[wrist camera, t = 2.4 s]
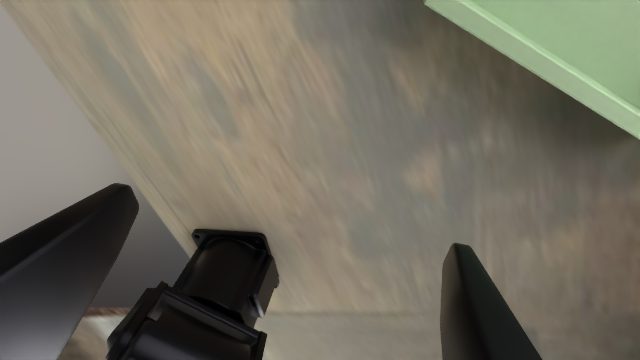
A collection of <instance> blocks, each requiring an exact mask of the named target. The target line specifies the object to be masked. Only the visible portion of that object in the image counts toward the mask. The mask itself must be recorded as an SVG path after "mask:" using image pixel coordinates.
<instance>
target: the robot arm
mask: <svg viewBox="0 0 640 360" xmlns="http://www.w3.org/2000/svg"><path fill="white" fill-rule="evenodd" d="M138 211H139V204H138V201H137V199H136V197H135V195H134V192H133V190H132V188H131V187H130V186H129V185H125V184H119V183H114V184H111V185H109V186H108V187H106V188H104V189H102V190H100V191H98V192H96V193H94V194H92V195H90V196H88V197H87V198H85V199H83V200H81V201H79V202H77V203H75V204H74V205H71V206H69V207H68V208H66V209H64V210H62V211H60V212H58V213H56V214H54V215H52V216H50V217H49V218H47V219H45V220H43V221H41V222H39V223H37V224H35V225H33V226H31V227H29V228H28V229H26V230H24V231H22V232H20V233H18V234H16V235H14V236H12V237H10V238H9V239H7V240H5V241H3V242H1V243H0V360H57V359H58V357H59V356H60V354H61V352H62V351H63V349H64V347H65V346H66V344H67V342H68V340H69V339H70V337H71V335H72V334H73V332H74V330H75V329H76V327H77V325H78V324H79V322H80V320H81V319H82V317H83V315H84V313H85V312H86V310H87V308H88V307H89V305H90V303H91V302H92V300H93V298H94V297H95V294H96V293H97V291H98V289H99V288H100V286H101V285H102V283H103V281H104V280H105V278H106V276H107V275H108V273H109V271H110V269H111V268H112V266H113V264H114V263H115V261H116V259H117V257H118V255H119V253H120V251H121V249H122V246H123V244H124V242H125V240H126V238H127V236H128V234H129V231H130V229H131V227H132V225H133V223H134V220H135V218H136V216H137V214H138ZM192 237H193V240H194V242H195V244H196V246H197V250H196V251H195V253H194V254H193V256H192V257H191V259H190V261H189V262H188V264H187V265H186V267H185V268H184V270H183V272H182V273H181V275H180V276H179V278H178V280H177V281H176V282H175V284H174V286H173V287H170V286H168V284H167V283H165V282H163V281H161V282H160V284H159V285H158V286H157V288H147V289H146V290H145V292H144V293H143V294H142V296H141V297H140V299H139V300H138V301H137V303H136V304H135V306H134V307H133V308H132V309H131V311H130V312H129V313H128V314H127V315H126V317H125V318H124V319H123V320H122V321H121V322H120V324H119V325H118V326H117V327H116V328H115V329H114V331H113V332H112V333H111V334H110V336H109V337H108V339H107V345H108V351H109V352H108V354H107V356H106V359H107V360H262V357H263V352H264V347H265V343H266V338H267V334H266V333H264V332H262V331H260V332H259V331H257V330H255V329H253V328H254V325H255V323H256V320H257V318H258V317H260V318H262V317H263V316H264V315H265V312H266V310H267V307H268V304H269V301H270V299H271V296H272V293H273V291H274V288H277V287H278V285H279V279H278V277H279V275H278V271H277V268H276V265H275V261H274V258H273V256H272V255H271V252H270V249H269V246H268V242H267V239H266V237H265V235H264V234H262V233H256V232H239V231H223V230H206V229H195V230H194V231H193V233H192ZM440 330H441V344H442V357H443V360H542V359H541V357H540V355H539V354H538V352H537V351H536V349H535V347H534V346H533V344H532V343H531V341H530V340H529V338H528V336H527V335H526V333H525V332H524V330H523V329H522V327H521V325H520V324H519V322H518V321H517V319H516V317H515V316H514V314H513V313H512V311H511V310H510V308H509V306H508V305H507V303H506V302H505V300H504V299H503V297H502V295H501V294H500V292H499V291H498V289H497V287H496V286H495V284H494V283H493V281H492V280H491V278H490V276H489V275H488V273H487V272H486V270H485V269H484V267H483V265H482V264H481V262H480V261H479V259H478V257H477V256H476V254H475V253H474V251H473V250H472V248H471V247H470V246H468V245H464V244H458V243H454V244H452V246H451V247H450V249H449V252H448V254H447V256H446V258H445V260H444V263H443V269H442V290H441V313H440Z"/></svg>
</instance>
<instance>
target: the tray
mask: <svg viewBox="0 0 640 360" xmlns="http://www.w3.org/2000/svg"><path fill="white" fill-rule="evenodd" d="M423 3H424V5H426V6H428V7H429V8H431V9H432V10H434V11H435V12H437V13H439V14H440V15H442V16H443V17H445V18H447V19H448V20H450V21H451V22H453V23H455V24H456V25H458V26H459V27H461V28H463V29H464V30H466V31H467V32H469V33H471V34H472V35H474V36H475V37H477V38H478V39H480V40H482V41H483V42H485V43H486V44H488V45H490V46H491V47H493V48H494V49H496V50H498V51H499V52H501V53H502V54H504V55H506V56H507V57H509V58H510V59H512V60H514V61H515V62H517V63H518V64H520V65H522V66H523V67H525V68H526V69H528V70H529V71H531V72H533V73H534V74H536V75H537V76H539V77H541V78H542V79H544V80H545V81H547V82H549V83H550V84H552V85H553V86H555V87H557V88H558V89H560V90H561V91H563V92H565V93H566V94H568V95H569V96H571V97H573V98H574V99H576V100H577V101H579V102H580V103H582V104H584V105H585V106H587V107H588V108H590V109H592V110H593V111H595V112H596V113H598V114H600V115H601V116H603V117H604V118H606V119H608V120H609V121H611V122H612V123H614V124H616V125H617V126H619V127H620V128H622V129H623V130H625V131H627V132H628V133H630V134H631V135H633V136H635V137H636V138H638V139H639V140H640V0H423Z"/></svg>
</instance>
